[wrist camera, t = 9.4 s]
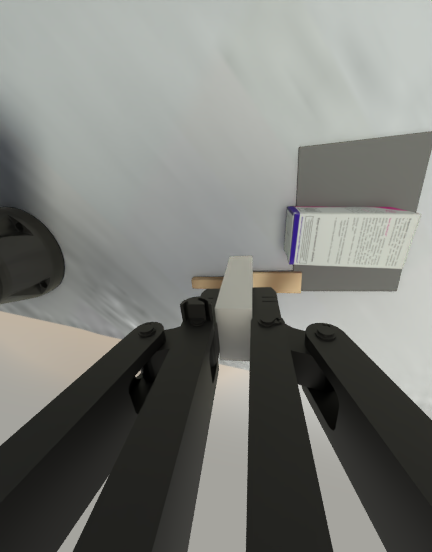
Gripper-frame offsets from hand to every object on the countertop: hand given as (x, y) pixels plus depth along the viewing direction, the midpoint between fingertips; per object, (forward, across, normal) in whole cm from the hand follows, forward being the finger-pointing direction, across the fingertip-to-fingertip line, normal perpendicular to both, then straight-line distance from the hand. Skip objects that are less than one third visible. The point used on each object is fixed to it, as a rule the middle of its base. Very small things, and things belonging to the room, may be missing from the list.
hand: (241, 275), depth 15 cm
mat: (+16, +13, 0) cm, 20 cm away
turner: (+16, 0, -8) cm, 18 cm away
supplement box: (+13, +4, 0) cm, 14 cm away
